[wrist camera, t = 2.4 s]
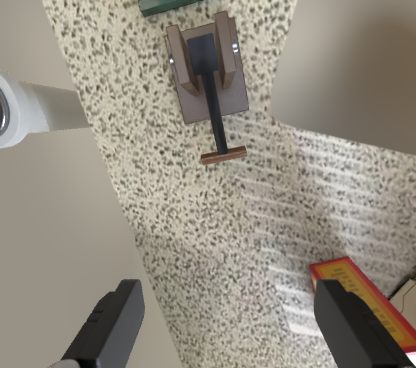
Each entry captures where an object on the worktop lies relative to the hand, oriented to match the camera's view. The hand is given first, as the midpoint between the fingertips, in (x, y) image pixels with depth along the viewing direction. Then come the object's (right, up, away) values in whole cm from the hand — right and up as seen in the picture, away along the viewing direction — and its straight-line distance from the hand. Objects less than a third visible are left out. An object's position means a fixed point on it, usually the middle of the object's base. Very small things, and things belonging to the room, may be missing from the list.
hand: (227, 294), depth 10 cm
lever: (0, +13, +13) cm, 19 cm away
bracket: (-1, +20, +20) cm, 28 cm away
